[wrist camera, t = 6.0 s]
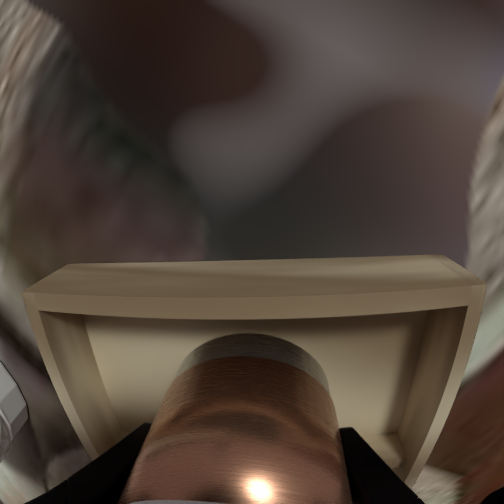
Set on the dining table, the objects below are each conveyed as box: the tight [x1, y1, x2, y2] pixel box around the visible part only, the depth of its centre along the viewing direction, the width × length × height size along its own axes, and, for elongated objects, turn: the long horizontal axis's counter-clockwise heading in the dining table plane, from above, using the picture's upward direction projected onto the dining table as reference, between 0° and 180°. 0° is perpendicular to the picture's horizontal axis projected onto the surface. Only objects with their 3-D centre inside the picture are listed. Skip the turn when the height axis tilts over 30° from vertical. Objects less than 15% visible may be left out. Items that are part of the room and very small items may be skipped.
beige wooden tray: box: [22, 254, 487, 489], centre depth 11 cm, size 17×14×3 cm
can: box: [117, 333, 352, 504], centre depth 7 cm, size 5×5×7 cm
